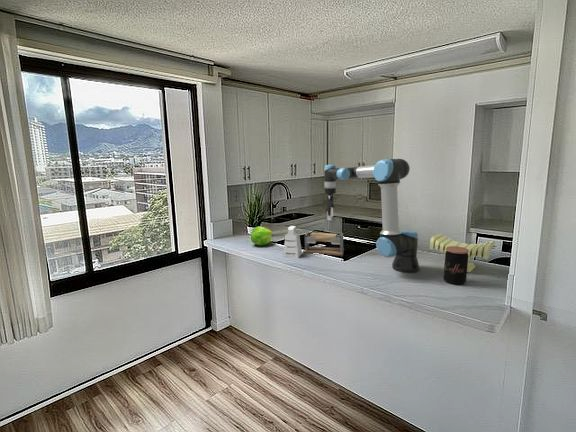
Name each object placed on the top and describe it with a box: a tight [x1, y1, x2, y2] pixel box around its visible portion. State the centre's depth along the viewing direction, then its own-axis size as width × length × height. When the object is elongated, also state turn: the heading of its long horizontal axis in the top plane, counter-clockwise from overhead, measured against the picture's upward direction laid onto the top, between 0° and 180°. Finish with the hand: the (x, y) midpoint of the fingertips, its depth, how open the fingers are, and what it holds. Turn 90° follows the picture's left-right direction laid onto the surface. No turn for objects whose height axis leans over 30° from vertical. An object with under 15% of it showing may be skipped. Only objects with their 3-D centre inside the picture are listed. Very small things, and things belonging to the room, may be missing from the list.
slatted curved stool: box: [429, 231, 496, 273], centre depth 189 cm, size 30×16×18 cm, turn 47°
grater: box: [282, 225, 303, 259], centre depth 219 cm, size 10×10×20 cm
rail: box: [310, 232, 338, 243], centre depth 226 cm, size 4×18×5 cm, turn 71°
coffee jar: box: [443, 246, 469, 286], centre depth 169 cm, size 11×11×18 cm
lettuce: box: [250, 225, 273, 246], centre depth 248 cm, size 15×20×14 cm
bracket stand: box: [303, 231, 345, 256], centre depth 227 cm, size 13×27×13 cm, turn 76°
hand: (330, 218), depth 223 cm, fingers open, 13 cm apart
